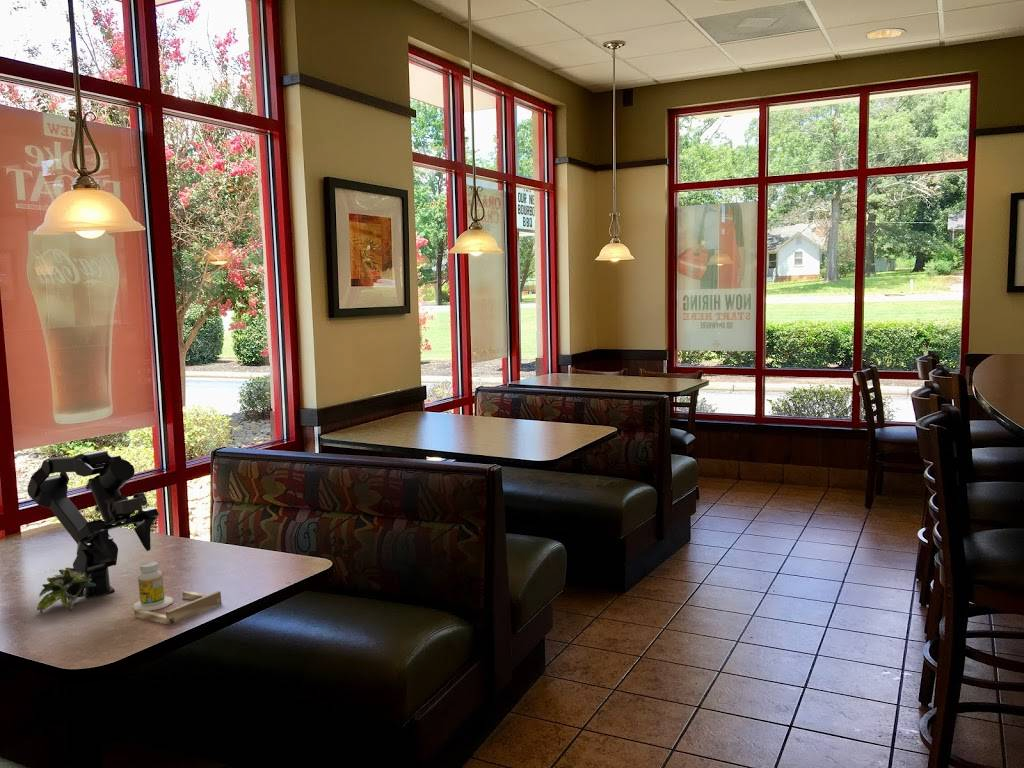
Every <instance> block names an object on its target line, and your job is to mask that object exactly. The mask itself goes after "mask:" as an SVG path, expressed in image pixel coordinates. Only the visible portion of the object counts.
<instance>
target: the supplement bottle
mask: <svg viewBox="0 0 1024 768" xmlns="http://www.w3.org/2000/svg"><path fill="white" fill-rule="evenodd" d="M159 568H160V567H159V562H157V561H148V562H144V563H142V564H140V565H139V571H140V572H141V573H139V575H138V576H137V578H138V579H137V582H138V591H139V601H140V602H141V605H142V606H155V605H158V604H161V603H163V602H164V600H165V597H164V596H165V587H164V580H163V579H164V578H163V573H162V571H161V570H159Z"/></svg>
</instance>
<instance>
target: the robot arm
mask: <svg viewBox="0 0 1024 768" xmlns="http://www.w3.org/2000/svg"><path fill="white" fill-rule="evenodd" d="M135 470H136V469H135V467H134V465H133V464H132V463H131V462H129V461H128V460H126V459H122V457H121V455H114V456H113V455H112V454H110V453H109V451H108V450H106V449H100V450H93V451H89V452H88V451H87V452H82V453H79V454H76V455H74V456H62V455H61V456H56V457H49V458H46V459H44V460H43V461H42V463H41V466H40V468H38V469H37V470H36V471H35V472H34V473H33V474H32V475H31V476H30V479H29V482H28V485H27V488H26V489H27V495H28V496H29V498H31V500H32V501H33V502H35V503H36V504H37V506H40V507H43V508H45V509H49V510H51V513H53V515H54V516H55V517H56V519H57V520H58V521H59V523H60V524H61V525H62V526H63V528H64V529H65V530H66V531H67V532H68V535H70V537H71V538H72V540H74V542H75V543H76V544H77V547H76V557H75V559H74V561H73V563H72V568H76V569H77V572H78V571H81V573H83V572H86V575H87V576H86V577H88V576H89V575H90V574H91V577H90V579H92V580H91V581H90V582H92V583H96V586H95V587H86V588H85V589H84V591H83V594H84V595H83V596H84V597H86V598H87V599H88V598H93V597H97V596H101V595H106V594H110V593H114V592H115V591H116V590H115V588H114V587H113V586H111V582H110V574H109V573H110V571H109V567H112V566H116V565H117V560H118V554H119V547H118V545H117V543H116V542H115V541H114V537H112V536H111V535H110V534H109V531H110V530H113V529H116V528H121V527H124V526H129V525H133V526H134V527H136V528H134V532H135V534H136V536H137V537H138V539H139V541H140V543H141V544H142V546H143V548H144V549H145V551H146V552H149V551H151V547H152V545H151V529H152V525H153V523H154V522H155V521H156V520H157V518H158V517H159V516H160V513H159V510H158V509H157V508H156V507H154V506H150V507H146V508H143V507H144V506H147V504H148V499H147V496H146V495H145V493H144V492H138V493H134V494H133V496H132V498H127V495H125V494H122V493H121V491H120V489H122V488H123V487H124V486H125V485H126V484H127V483H129V481H130V480H131V479H132V478H133V477H134V475H135V473H136V472H135ZM55 473H59V474H58V475H57V474H56V475H52V474H55ZM68 473H75V475H77V476H80V477H84V478H85V477H89V476H94V475H95V476H94V477H91V478H88V482H87V484H86V486H85V489H86V491H88V490H89V491H91V493H92V496H93V498H94V500H95V503H96V507H95V508H94V509H95V511H96V513H98V512H99V514H100V515H101V518H102V519H101V518H100V519H95V520H92V521H87V520H86V518H85V517H84V516H83V514H82V513H81V512H80V511H79V509H78V508H77V507H76V506H75V504H74V503H73V502H72V501H71V499H70V498H69V497H68V489H69V487H68V484H69V481H70V477H69V476H68ZM50 474H51V476H50ZM136 511H137V512H136ZM135 512H136V513H135Z"/></svg>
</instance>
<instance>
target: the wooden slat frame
mask: <svg viewBox="0 0 1024 768" xmlns="http://www.w3.org/2000/svg"><path fill="white" fill-rule="evenodd" d="M181 594H182V599H184V600H185V599H186V600H188V601H189V600H190V601H189V602H186V603H185V604H182V605H179V606H177V607H173V608H172V609H170V610H166V611H165V614H161V613H158V612H155V611H146V610H141V609H137V610H133V612H134V614H133V615H134V617H135V618H137V617H138V619H141V618H142V619H141V620H145V619H147V620H146V621H150V620H152V621H151V622H154V621H156V622H155V623H158V622H160V623H159V624H162V623H165V624H164V625H166V624H169V625H168V626H172V625H174V624H177V623H179V622H181V621H184V620H186V619H188V617H189V618H191V617H193V616H196V615H198V614H200V612H201V613H203V612H205V611H208V610H210V609H213V608H214V607H217V606H220V605H221V604H222V593H221V591H219V590H216V591H214V592H212V593H209V594H206V593H200V592H196V591H195V592H194V591H190V590H185V591H182V593H181ZM219 604H220V605H219ZM195 614H196V615H195ZM190 616H191V617H190ZM185 618H186V619H185ZM183 619H184V620H183ZM180 620H181V621H180ZM178 621H179V622H178ZM176 622H177V623H176ZM173 623H174V624H173ZM171 624H172V625H171Z"/></svg>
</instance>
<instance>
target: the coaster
mask: <svg viewBox="0 0 1024 768" xmlns="http://www.w3.org/2000/svg"><path fill="white" fill-rule="evenodd" d="M164 597H165V600H164V602H163V603H161V604H158V605H155V606H142V605H141V602H140V600H139V601H137V602H136V603H134V604H133V605H132V610H133V609H134V610H133V611H135V610H137V609H141V610H146V611H150V612H153V611H152V610H154V611H157V609H159V610H161V608H162V609H165V608H167V607H169V606H171V605H172V604H173V603H174V598H173V597H171V596H165V595H164ZM170 604H171V605H170ZM168 605H169V606H168ZM166 606H167V607H166ZM164 607H165V608H164Z"/></svg>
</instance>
